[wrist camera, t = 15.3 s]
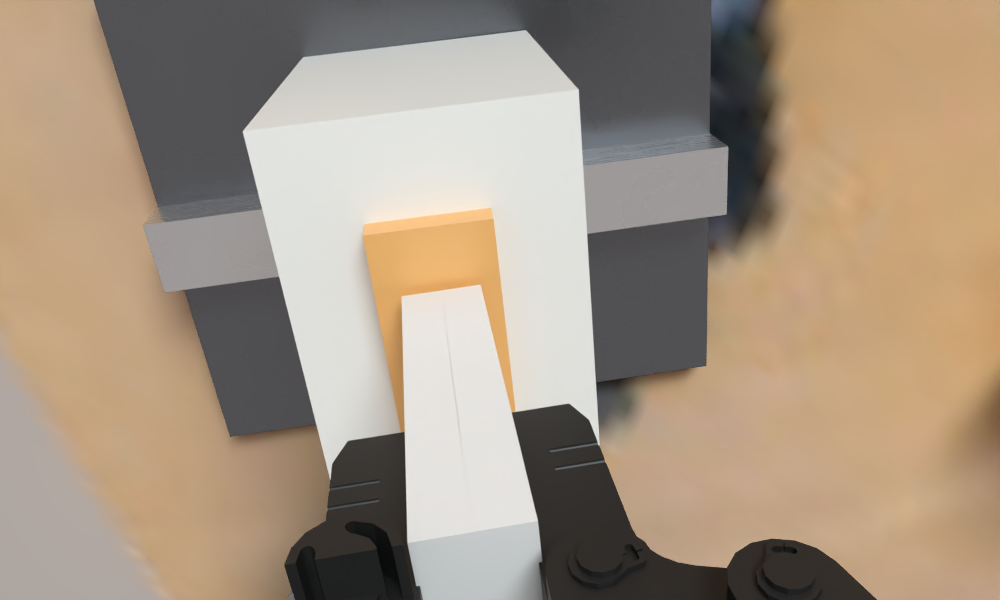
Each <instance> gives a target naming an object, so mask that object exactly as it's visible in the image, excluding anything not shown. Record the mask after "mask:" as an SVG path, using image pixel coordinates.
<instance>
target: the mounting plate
mask: <svg viewBox="0 0 1000 600" xmlns="http://www.w3.org/2000/svg"><path fill="white" fill-rule="evenodd" d="M94 3H95V6H96V9H97V12H98V16H99V19H100V22H101V25H102V28H103V32H104V35H105V38H106V41H107V44H108V48H109V51H110V54H111V57H112V60H113V64H114V67H115V70H116V73H117V76H118V80H119V83H120V86H121V89H122V92H123V96H124V99H125V102H126V105H127V108H128V111H129V115H130V118H131V121H132V124H133V127H134V131H135V134H136V137H137V140H138V143H139V147H140V150H141V153H142V156H143V159H144V163H145V166H146V169H147V172H148V175H149V179H150V182H151V185H152V188H153V191H154V195H155V198H156V201H157V204H158V208H157V209H156V210H155V211H154V213H153V214H152V215H151V216H150V217H149V219H148V220H147V221H146V222H145V223H144V224H143V228H144V231H145V234H146V237H147V240H148V243H149V246H150V249H151V252H152V255H153V258H154V261H155V264H156V268H157V271H158V274H159V277H160V280H161V283H162V286H163V289H164V292H172V291H179V290H185V294H186V297H187V300H188V303H189V306H190V310H191V313H192V316H193V319H194V322H195V326H196V329H197V332H198V335H199V338H200V342H201V345H202V348H203V351H204V354H205V358H206V361H207V364H208V367H209V370H210V374H211V377H212V380H213V383H214V386H215V389H216V393H217V396H218V399H219V402H220V405H221V409H222V412H223V415H224V418H225V421H226V425H227V428H228V431H229V434H230V437H232V436H238V435H245V434H252V433H259V432H265V431H272V430H279V429H285V428H292V427H299V426H306V425H312V424H316V421H315V417H314V413H313V409H312V405H311V401H310V397H309V393H308V389H307V385H306V381H305V377H304V373H303V369H302V365H301V362H300V358H299V354H298V350H297V346H296V342H295V338H294V334H293V330H292V326H291V322H290V318H289V314H288V310H287V306H286V302H285V298H284V294H283V290H282V286H281V282H280V278H279V274H278V270H277V266H276V262H275V258H274V254H273V250H272V246H271V242H270V238H269V234H268V230H267V226H266V222H265V218H264V214H263V210H262V206H261V202H260V198H259V194H258V190H257V186H256V182H255V178H254V174H253V170H252V167H251V163H250V159H249V155H248V151H247V147H246V143H245V139H244V135H243V130H244V129H245V128H246V127H247V125H248V124H249V123H250V122H251V121H252V119H253V118H254V117H255V116H256V114H257V113H258V112H259V111H260V110H261V108H262V107H263V106H264V105H265V103H266V102H267V101H268V100H269V98H270V97H271V96H272V95H273V94H274V92H275V91H276V90H277V89H278V87H279V86H280V85H281V84H282V83H283V81H284V80H285V79H286V78H287V76H288V75H289V74H290V73H291V71H292V70H293V69H294V68H295V67H296V65H297V64H298V63H299V62H300V60H301V59H302V58H303V57H309V56H317V55H326V54H334V53H342V52H350V51H359V50H367V49H375V48H383V47H391V46H400V45H408V44H416V43H424V42H433V41H441V40H449V39H457V38H465V37H474V36H482V35H490V34H498V33H507V32H515V31H523V30H526V31H527V32H528V33H529V34H530V35H531V36H532V38H533V39H534V40H535V41H536V42H537V43H538V44H539V45H540V47H541V48H542V49H543V50H544V51H545V52H546V53H547V54H548V56H549V57H550V58H551V59H552V60H553V61H554V62H555V64H556V65H557V66H558V67H559V68H560V69H561V70H562V71H563V73H564V74H565V75H566V76H567V77H568V78H569V79H570V80H571V82H572V83H573V84H574V85H575V86H576V87H577V88H578V89H579V104H580V121H581V138H582V155H583V172H584V189H585V206H586V223H587V241H588V258H589V275H590V292H591V309H592V326H593V343H594V360H595V377H596V382H601V381H608V380H614V379H621V378H628V377H635V376H641V375H648V374H655V373H661V372H668V371H675V370H681V369H688V368H695V367H702V366H706V352H707V279H708V217H711V216H719V215H726V214H727V174H728V146H727V145H725V144H724V143H722V142H721V141H720V140H718V139H717V138H715V137H714V136H713V135H711V134H710V133H709V132H710V59H711V0H94Z"/></svg>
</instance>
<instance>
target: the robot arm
mask: <svg viewBox="0 0 1000 600" xmlns="http://www.w3.org/2000/svg"><path fill="white" fill-rule="evenodd" d="M402 338H403V379H404V421H405V432H401V433H395V434H388V435H382V436H376V437H369V438H363V439H357V440H350V441H347V443H346V444H345V446H344V447H343V449H342V450H341V451H340V453H339V454H338V456H337V457H336V459H335V460H334V462H333V463H332V470H331V480H330V492H329V498H328V511H327V516H326V521H325V522H323V523H321V524H320V525H318V526H316V527H315V528H313V529H311V530H310V531H308V532H306V533H305V534H304V535H303V536H302V537H301V538H300V539H299V541H298V542H297V543H296V544H295V545H294V546H293V547H292V548H291V550H290V553H289V555H288V557H287V560H286V562H285V569H286V572H287V575H288V579H289V582H290V585H291V588H292V592H293V595H294V598H295V600H877V599H876V598H875V597H873V596H872V595H871V594H870V593H869V592H868V591H867V590H866V589H865V588H864V587H863V586H862V585H861V584H860V583H859V582H857V581H856V580H855V579H854V578H853V577H852V576H851V575H850V574H849V573H848V572H847V571H846V570H845V569H844V568H843V567H841V566H840V565H839V564H838V563H837V562H836V561H835V560H833V559H832V558H830V557H829V556H827V555H826V554H824V553H823V552H822V551H820V550H819V549H817V548H814V547H812V546H809V545H806V544H803V543H800V542H797V541H793V540H781V539H768V540H763V541H759V542H754V543H750V544H749V545H747V546H746V547H744V548H743V549H741V550H739V551H738V552H736V553H735V555H734V557H733V558H732V560H731V562H730V564H729V565H728V567H727V568H718V567H706V566H695V565H689V564H684V563H678V562H675V561H672V560H669V559H667V558H664V557H661V556H660V555H658V554H656V553H655V552H653V551H652V550H650V549H649V547H648V546H647V544H646V543H645V542H644V541H643V540H641V539H640V538H638V537H637V536H636V534H635V533H634V531H633V529H632V528H631V525H630V522H629V520H628V517H627V515H626V512H625V510H624V507H623V505H622V502H621V500H620V497H619V495H618V492H617V489H616V487H615V484H614V482H613V479H612V477H611V474H610V472H609V469H608V467H607V464H606V463H605V460H604V456H603V454H602V451H601V449H600V446H599V445H598V441H597V439H596V436H595V434H594V431H593V428H592V426H591V423H590V421H589V419H587V418H586V417H585V416H584V415H583V414H581V413H580V412H579V411H578V410H576V409H575V408H574V407H573V406H572V405H570V404H562V405H556V406H550V407H543V408H537V409H531V410H525V411H518V412H511V408H510V404H509V400H508V396H507V392H506V387H505V383H504V379H503V375H502V371H501V367H500V363H499V359H498V354H497V350H496V346H495V342H494V338H493V334H492V330H491V326H490V322H489V317H488V313H487V309H486V305H485V301H484V297H483V293H482V289H481V285H474V286H467V287H461V288H454V289H447V290H441V291H434V292H428V293H421V294H414V295H407V296H402Z"/></svg>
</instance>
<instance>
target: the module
mask: <svg viewBox="0 0 1000 600" xmlns="http://www.w3.org/2000/svg"><path fill="white" fill-rule="evenodd" d="M243 135H244V139H245V143H246V147H247V151H248V155H249V159H250V163H251V167H252V170H253V174H254V178H255V182H256V186H257V190H258V194H259V198H260V202H261V206H262V210H263V214H264V218H265V222H266V226H267V230H268V234H269V238H270V242H271V246H272V250H273V254H274V258H275V262H276V266H277V270H278V274H279V278H280V282H281V286H282V290H283V294H284V298H285V302H286V306H287V310H288V314H289V318H290V322H291V326H292V330H293V334H294V338H295V342H296V346H297V350H298V354H299V358H300V362H301V365H302V369H303V373H304V377H305V381H306V385H307V389H308V393H309V397H310V401H311V405H312V409H313V413H314V417H315V421H316V425H317V429H318V433H319V437H320V441H321V445H322V449H323V453H324V457H325V461H326V465H327V469H328V473H329V477H330V480H331V470H332V463H333V462H334V460H335V459H336V457H337V456H338V454H339V453H340V451H341V450H342V449H343V447H344V446H345V444H346V443H347V441H350V440H357V439H363V438H369V437H376V436H382V435H388V434H395V433H401V432H405V421H404V379H403V338H402V296H407V295H414V294H421V293H428V292H434V291H441V290H447V289H454V288H461V287H467V286H474V285H481V289H482V293H483V297H484V301H485V305H486V309H487V313H488V317H489V322H490V326H491V330H492V334H493V338H494V342H495V346H496V350H497V354H498V359H499V363H500V367H501V371H502V375H503V379H504V383H505V387H506V392H507V396H508V400H509V404H510V408H511V412H518V411H525V410H531V409H537V408H543V407H550V406H556V405H562V404H570V405H572V406H573V407H574V408H575V409H576V410H578V411H579V412H580V413H581V414H583V415H584V416H585V417H586V418H587V419H589V421H590V423H591V426H592V428H593V431H594V434H595V436H596V439H597V441H598V445H599V428H598V411H597V394H596V377H595V360H594V343H593V326H592V309H591V292H590V275H589V258H588V241H587V223H586V206H585V189H584V172H583V155H582V138H581V121H580V104H579V89H578V88H577V87H576V86H575V85H574V84H573V83H572V82H571V80H570V79H569V78H568V77H567V76H566V75H565V74H564V73H563V71H562V70H561V69H560V68H559V67H558V66H557V65H556V64H555V62H554V61H553V60H552V59H551V58H550V57H549V56H548V54H547V53H546V52H545V51H544V50H543V49H542V48H541V47H540V45H539V44H538V43H537V42H536V41H535V40H534V39H533V38H532V36H531V35H530V34H529V33H528V32H527V31H526V30H523V31H515V32H507V33H498V34H490V35H482V36H474V37H465V38H457V39H449V40H441V41H433V42H424V43H416V44H408V45H400V46H391V47H383V48H375V49H367V50H359V51H350V52H342V53H334V54H326V55H317V56H309V57H303V58H302V59H301V60H300V62H299V63H298V64H297V65H296V67H295V68H294V69H293V70H292V71H291V73H290V74H289V75H288V76H287V78H286V79H285V80H284V81H283V83H282V84H281V85H280V86H279V87H278V89H277V90H276V91H275V92H274V94H273V95H272V96H271V97H270V98H269V100H268V101H267V102H266V103H265V105H264V106H263V107H262V108H261V110H260V111H259V112H258V113H257V114H256V116H255V117H254V118H253V119H252V121H251V122H250V123H249V124H248V125H247V127H246V128H245V129H244V130H243ZM599 446H600V445H599Z"/></svg>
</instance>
